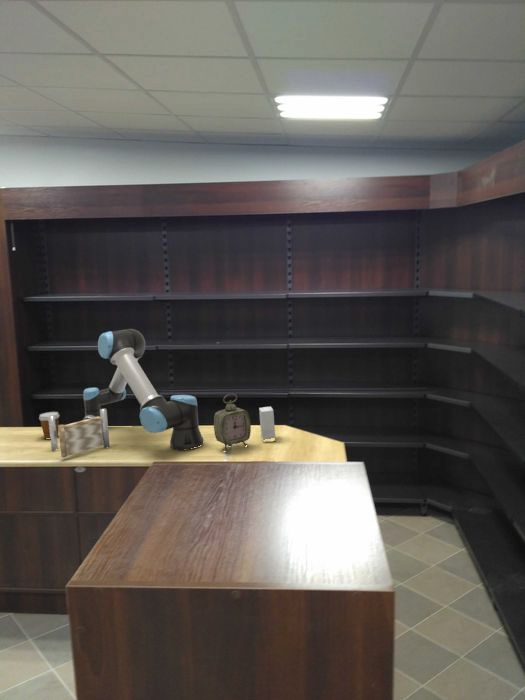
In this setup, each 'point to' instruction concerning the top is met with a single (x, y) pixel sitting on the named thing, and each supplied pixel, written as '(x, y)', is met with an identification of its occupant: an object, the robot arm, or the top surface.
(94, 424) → the gate
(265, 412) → the skincare box
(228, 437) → the tabletop clock
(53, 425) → the post
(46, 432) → the disposable coffee cup
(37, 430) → the top surface
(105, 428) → the hinge post
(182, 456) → the top surface
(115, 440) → the top surface
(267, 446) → the top surface
